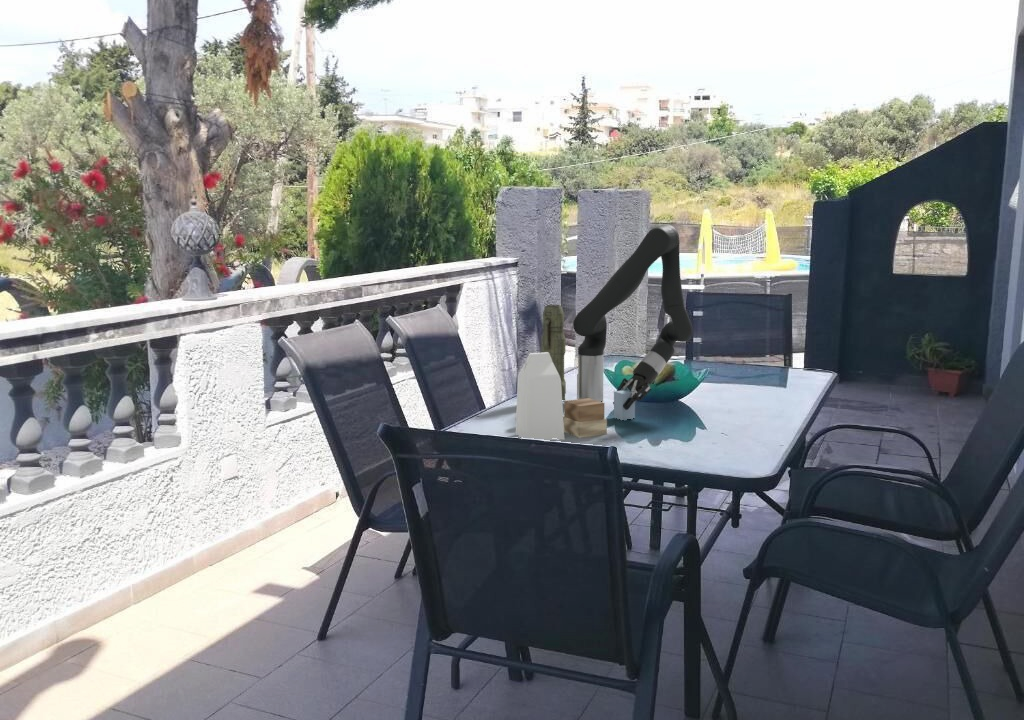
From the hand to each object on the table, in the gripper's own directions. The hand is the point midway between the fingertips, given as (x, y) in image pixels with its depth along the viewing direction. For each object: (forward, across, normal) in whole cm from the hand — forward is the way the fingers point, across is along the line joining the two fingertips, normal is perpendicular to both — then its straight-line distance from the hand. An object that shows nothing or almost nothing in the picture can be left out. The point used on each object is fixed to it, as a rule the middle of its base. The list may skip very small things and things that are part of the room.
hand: (619, 406), depth 299 cm
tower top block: (+14, +10, -15) cm, 23 cm away
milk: (+28, +8, -22) cm, 36 cm away
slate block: (+2, 0, +4) cm, 5 cm away
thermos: (+5, -38, +1) cm, 38 cm away
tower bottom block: (+18, +10, -11) cm, 23 cm away
